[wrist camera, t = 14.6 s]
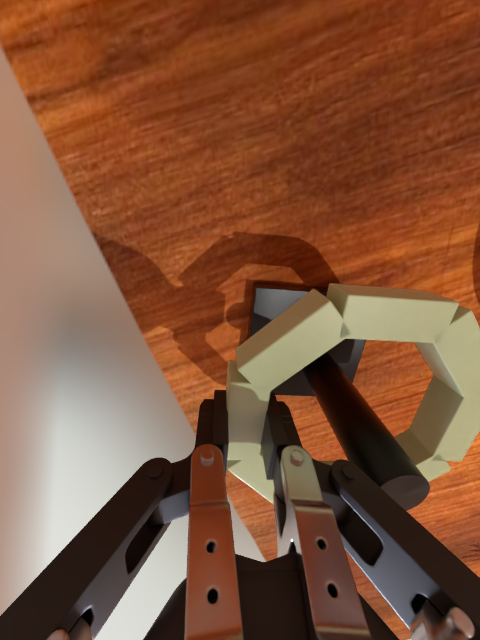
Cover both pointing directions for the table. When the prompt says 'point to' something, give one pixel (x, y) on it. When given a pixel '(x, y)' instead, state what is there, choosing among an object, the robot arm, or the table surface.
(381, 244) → the table surface
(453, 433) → the ring
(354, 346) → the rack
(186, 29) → the table surface
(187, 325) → the table surface
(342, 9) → the table surface
